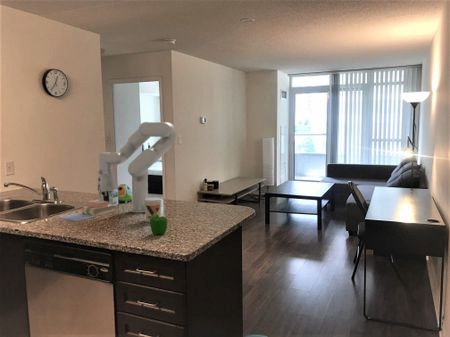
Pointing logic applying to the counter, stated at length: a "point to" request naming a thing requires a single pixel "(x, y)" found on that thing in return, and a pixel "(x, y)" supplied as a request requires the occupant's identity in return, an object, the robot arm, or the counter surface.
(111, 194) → the light bulb box
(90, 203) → the tile
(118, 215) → the counter surface
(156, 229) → the bell pepper
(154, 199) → the coffee cup
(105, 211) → the deck
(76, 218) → the mat
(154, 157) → the robot arm
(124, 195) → the turtle holder
